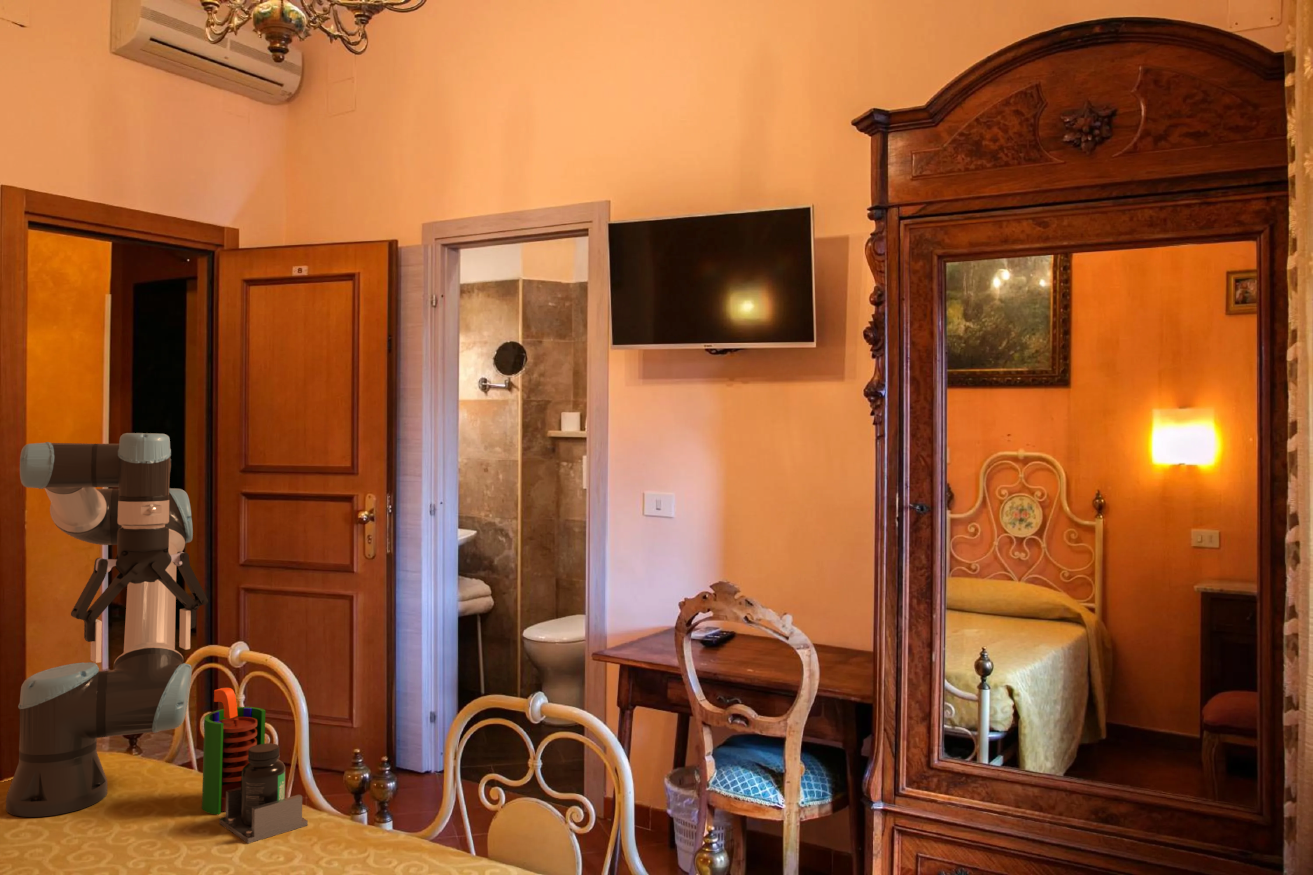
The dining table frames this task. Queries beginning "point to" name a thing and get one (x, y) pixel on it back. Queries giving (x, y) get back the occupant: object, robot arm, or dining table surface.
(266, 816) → the cradle
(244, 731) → the motor
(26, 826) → the dining table surface
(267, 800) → the supplement bottle
